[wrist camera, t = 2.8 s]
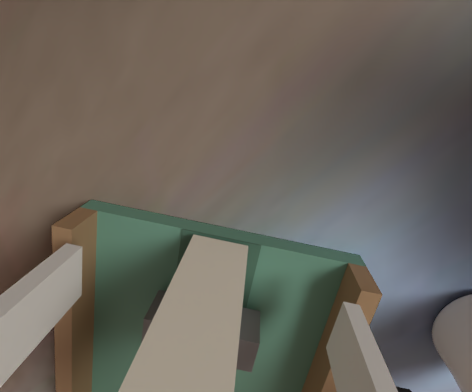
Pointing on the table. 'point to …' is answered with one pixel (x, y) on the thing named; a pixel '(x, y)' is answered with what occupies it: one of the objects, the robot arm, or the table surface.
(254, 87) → the table surface
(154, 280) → the pitch
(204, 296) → the striker
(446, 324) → the drinking glass
